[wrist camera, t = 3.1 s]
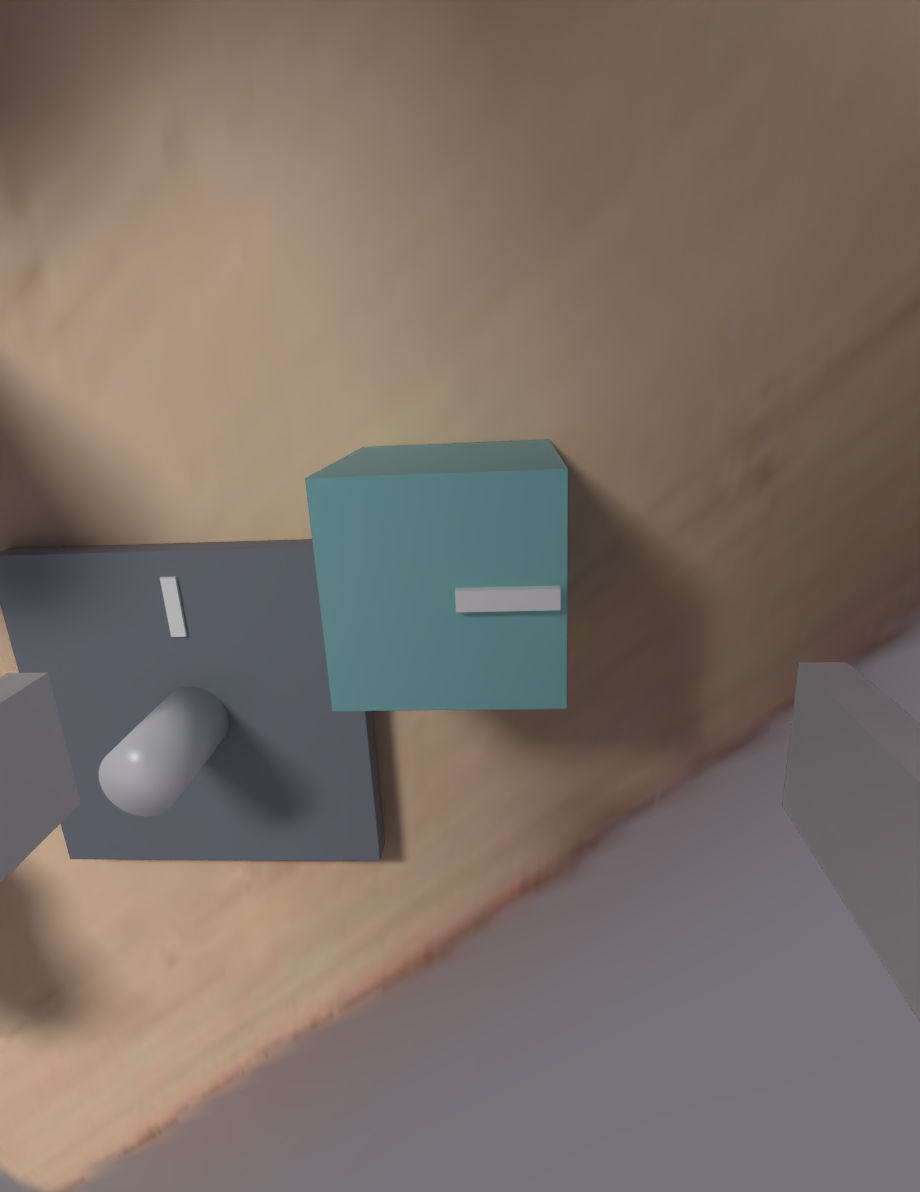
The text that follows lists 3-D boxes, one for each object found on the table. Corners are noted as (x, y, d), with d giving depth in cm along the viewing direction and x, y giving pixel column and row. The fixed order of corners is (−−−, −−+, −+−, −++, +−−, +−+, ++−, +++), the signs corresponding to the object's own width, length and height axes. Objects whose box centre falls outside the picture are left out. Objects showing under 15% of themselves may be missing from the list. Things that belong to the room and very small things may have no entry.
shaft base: (86, 841, 31) (-2, 939, 26) (9, 548, 27) (-116, 593, 22) (384, 842, 30) (358, 945, 25) (355, 538, 26) (315, 582, 20)
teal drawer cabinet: (378, 621, 27) (329, 716, 20) (362, 447, 25) (301, 480, 17) (550, 617, 26) (567, 713, 19) (549, 439, 24) (569, 470, 17)
